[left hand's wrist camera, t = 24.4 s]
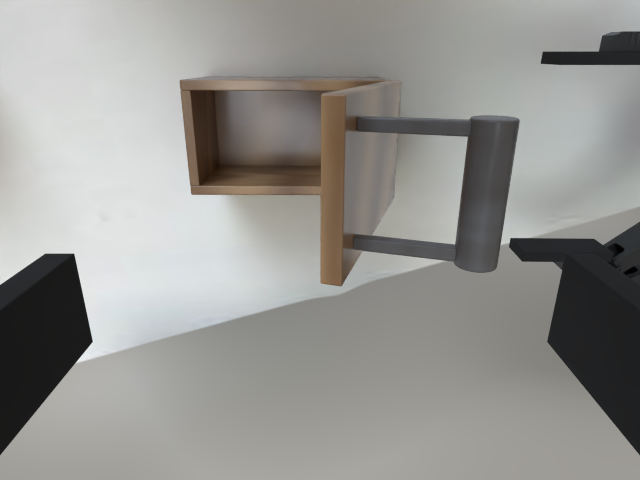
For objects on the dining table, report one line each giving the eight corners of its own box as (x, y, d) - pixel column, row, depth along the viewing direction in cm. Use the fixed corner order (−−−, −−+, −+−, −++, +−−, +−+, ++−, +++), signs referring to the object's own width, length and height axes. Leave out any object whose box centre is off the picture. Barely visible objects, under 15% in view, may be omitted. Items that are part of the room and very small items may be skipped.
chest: (214, 171, 48) (191, 194, 39) (206, 76, 45) (179, 80, 36) (374, 171, 48) (386, 195, 39) (378, 77, 45) (392, 80, 36)
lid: (320, 284, 24) (496, 309, 21) (320, 93, 20) (530, 98, 18) (380, 196, 39) (486, 205, 37) (386, 80, 36) (503, 82, 33)
